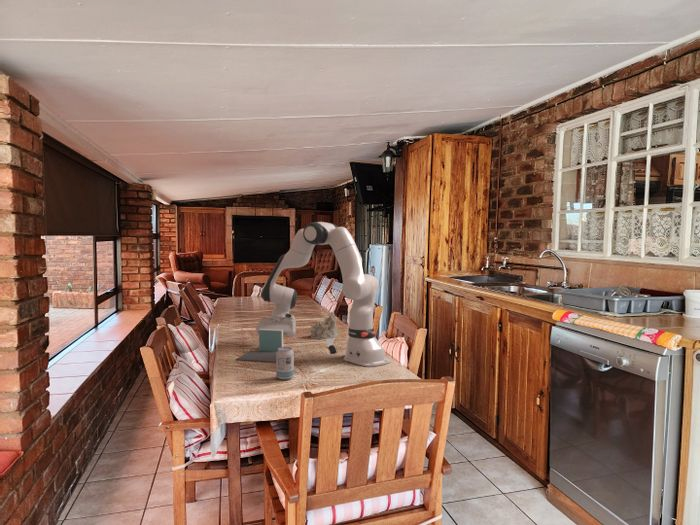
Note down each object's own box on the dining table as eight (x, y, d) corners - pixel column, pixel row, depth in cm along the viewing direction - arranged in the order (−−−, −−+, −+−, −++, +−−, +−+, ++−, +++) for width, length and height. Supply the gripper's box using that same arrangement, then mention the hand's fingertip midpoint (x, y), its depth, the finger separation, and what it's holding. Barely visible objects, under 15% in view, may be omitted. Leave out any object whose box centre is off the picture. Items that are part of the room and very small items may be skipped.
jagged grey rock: (340, 333, 260) (338, 308, 258) (336, 340, 244) (334, 314, 242) (314, 334, 261) (312, 309, 260) (308, 341, 245) (306, 315, 244)
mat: (250, 351, 218) (250, 350, 218) (289, 353, 214) (289, 352, 214) (236, 360, 202) (235, 359, 202) (277, 363, 198) (277, 361, 198)
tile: (260, 350, 220) (260, 328, 219) (283, 351, 218) (283, 329, 217) (258, 351, 218) (258, 329, 217) (281, 353, 216) (281, 330, 215)
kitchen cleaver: (316, 338, 244) (334, 336, 245) (317, 341, 244) (335, 339, 245) (319, 353, 213) (339, 350, 214) (319, 357, 213) (340, 354, 214)
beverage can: (294, 375, 181) (294, 346, 180) (292, 381, 174) (292, 351, 173) (277, 375, 180) (277, 346, 180) (275, 381, 174) (275, 351, 173)
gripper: (258, 313, 228) (250, 336, 219) (296, 315, 224) (290, 338, 215) (261, 320, 233) (254, 343, 224) (299, 322, 229) (293, 345, 220)
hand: (272, 341), depth 219 cm, fingers closed
